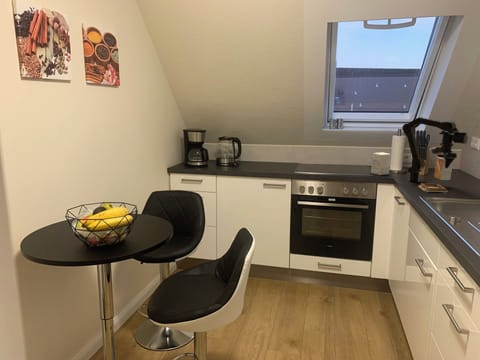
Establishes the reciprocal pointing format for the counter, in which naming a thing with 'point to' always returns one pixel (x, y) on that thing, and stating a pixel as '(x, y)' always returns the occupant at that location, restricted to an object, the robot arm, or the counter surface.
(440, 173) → the small box
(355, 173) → the counter surface
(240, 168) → the counter surface
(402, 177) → the counter surface
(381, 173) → the supplement box
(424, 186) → the wooden tray
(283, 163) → the counter surface
